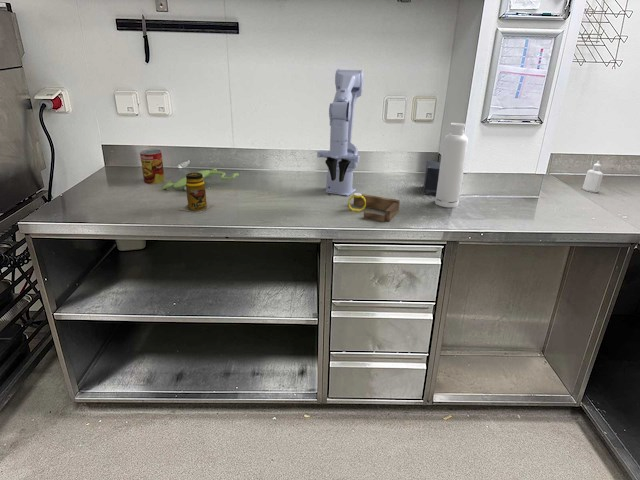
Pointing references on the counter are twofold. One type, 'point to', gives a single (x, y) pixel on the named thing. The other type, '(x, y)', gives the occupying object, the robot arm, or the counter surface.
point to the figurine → (182, 182)
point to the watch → (356, 196)
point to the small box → (431, 177)
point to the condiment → (195, 193)
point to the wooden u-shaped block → (378, 207)
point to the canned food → (152, 166)
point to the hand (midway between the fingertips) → (337, 180)
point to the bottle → (452, 166)
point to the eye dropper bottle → (593, 179)
